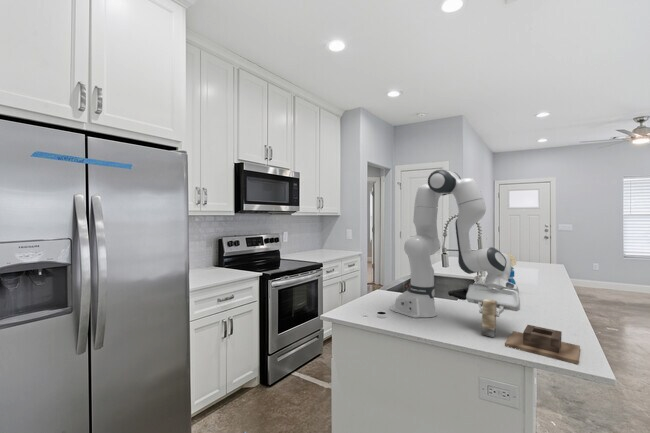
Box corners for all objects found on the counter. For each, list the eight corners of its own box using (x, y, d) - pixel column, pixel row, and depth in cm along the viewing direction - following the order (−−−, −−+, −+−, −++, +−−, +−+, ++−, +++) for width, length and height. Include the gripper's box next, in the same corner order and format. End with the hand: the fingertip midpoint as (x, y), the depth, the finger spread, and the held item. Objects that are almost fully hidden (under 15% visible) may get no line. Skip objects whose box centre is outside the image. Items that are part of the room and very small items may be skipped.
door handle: (491, 293, 192) (467, 286, 206) (469, 298, 182) (445, 290, 196) (490, 299, 192) (466, 291, 206) (468, 304, 182) (445, 295, 196)
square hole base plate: (504, 346, 124) (505, 330, 123) (513, 333, 136) (513, 319, 136) (578, 364, 109) (578, 346, 109) (579, 348, 122) (580, 333, 122)
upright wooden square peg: (481, 334, 134) (482, 300, 133) (484, 331, 136) (485, 298, 136) (493, 337, 131) (494, 302, 130) (495, 334, 134) (496, 301, 133)
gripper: (468, 278, 145) (461, 305, 138) (521, 286, 132) (516, 316, 125) (471, 286, 148) (464, 312, 141) (523, 294, 135) (518, 324, 128)
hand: (488, 314), depth 133 cm, fingers closed on upright wooden square peg, 4 cm apart
